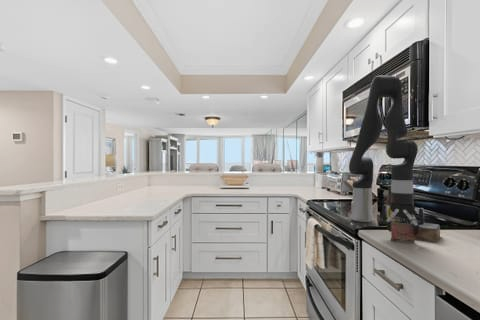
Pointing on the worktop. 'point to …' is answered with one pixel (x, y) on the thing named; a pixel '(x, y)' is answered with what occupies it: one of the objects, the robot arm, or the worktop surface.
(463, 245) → the worktop surface
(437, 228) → the grey slab
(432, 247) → the worktop surface
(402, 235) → the lighter
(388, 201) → the sauce bottle
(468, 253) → the worktop surface
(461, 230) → the worktop surface
